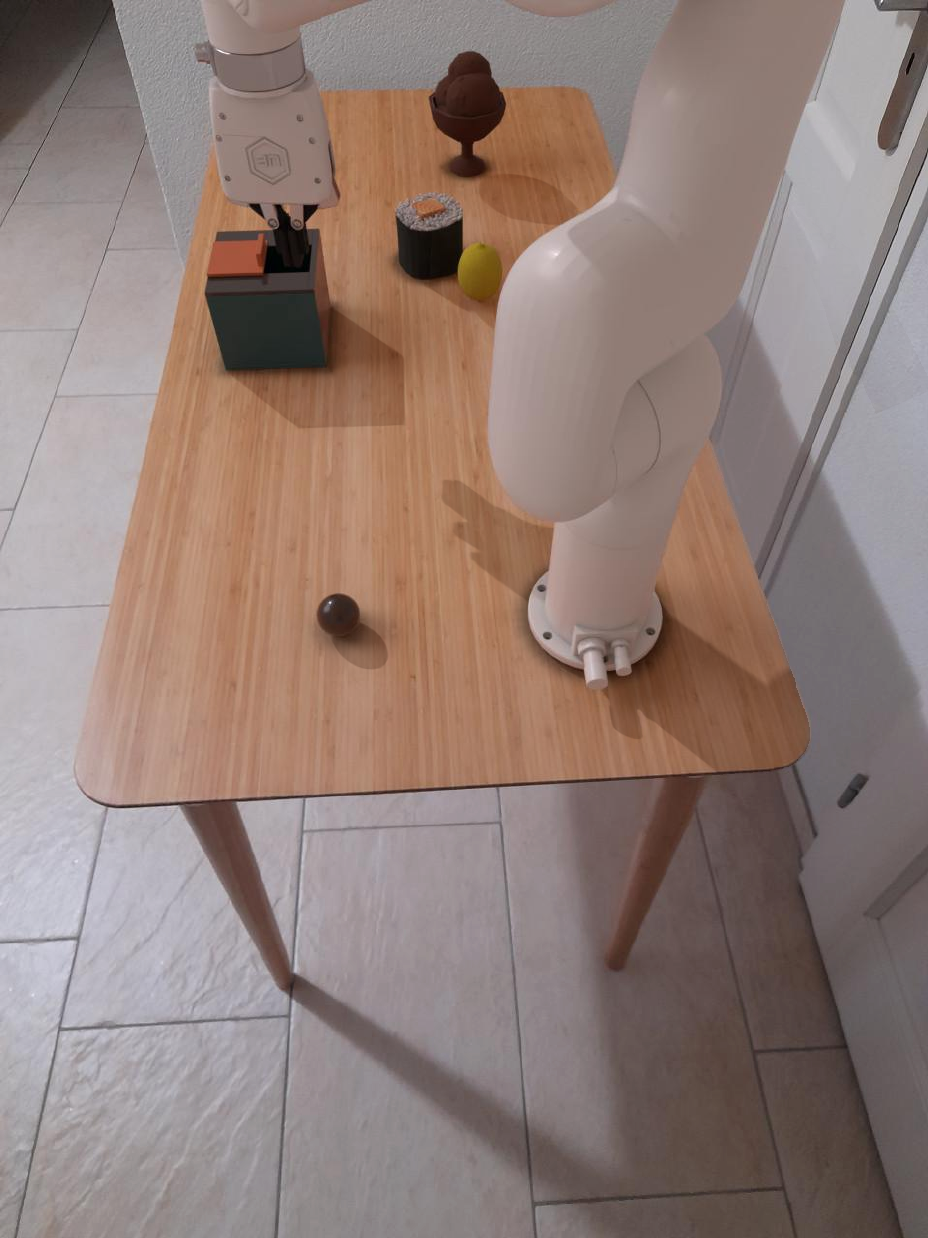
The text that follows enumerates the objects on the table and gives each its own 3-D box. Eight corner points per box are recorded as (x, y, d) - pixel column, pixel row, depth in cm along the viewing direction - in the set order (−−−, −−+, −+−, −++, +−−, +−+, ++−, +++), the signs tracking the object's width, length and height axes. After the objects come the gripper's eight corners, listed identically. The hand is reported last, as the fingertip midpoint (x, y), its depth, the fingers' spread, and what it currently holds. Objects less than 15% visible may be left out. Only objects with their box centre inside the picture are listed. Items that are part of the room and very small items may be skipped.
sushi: (473, 268, 117) (473, 210, 110) (416, 286, 114) (413, 228, 108) (444, 238, 121) (443, 180, 114) (389, 254, 118) (385, 197, 112)
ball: (361, 643, 82) (357, 619, 79) (318, 645, 82) (312, 620, 79) (362, 609, 84) (358, 583, 81) (320, 610, 84) (314, 585, 81)
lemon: (450, 306, 112) (449, 248, 105) (470, 283, 115) (470, 225, 108) (489, 319, 110) (490, 260, 104) (508, 295, 113) (511, 237, 107)
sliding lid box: (326, 366, 105) (314, 289, 96) (225, 370, 105) (204, 292, 96) (330, 305, 112) (319, 228, 103) (236, 308, 112) (216, 231, 103)
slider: (263, 275, 98) (259, 259, 96) (207, 277, 98) (203, 261, 96) (268, 242, 102) (264, 227, 100) (213, 244, 101) (210, 228, 100)
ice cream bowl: (418, 158, 133) (413, 48, 121) (485, 142, 136) (487, 33, 123) (447, 192, 127) (445, 81, 115) (516, 175, 130) (521, 64, 118)
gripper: (160, 78, 72) (214, 278, 87) (340, 82, 72) (363, 283, 87) (183, 39, 77) (230, 236, 92) (353, 42, 76) (373, 240, 91)
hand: (295, 258), depth 89 cm, fingers closed
